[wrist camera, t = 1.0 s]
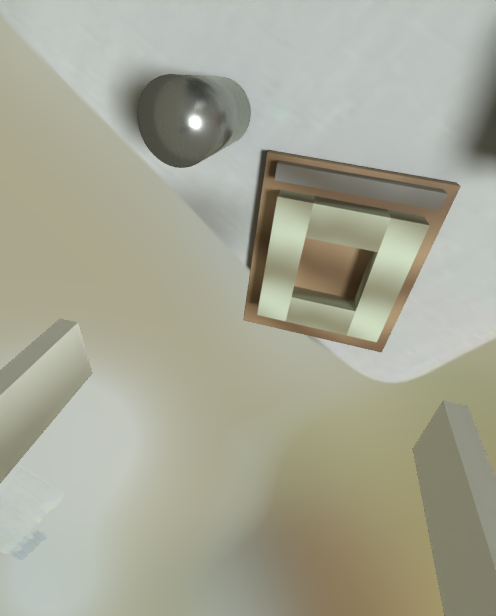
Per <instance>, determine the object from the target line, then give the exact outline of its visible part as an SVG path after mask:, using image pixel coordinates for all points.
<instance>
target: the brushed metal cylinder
mask: <svg viewBox="0 0 496 616" xmlns="http://www.w3.org/2000/svg"><path fill="white" fill-rule="evenodd" d="M250 114H251V111H250V104H249V100H248V97H247V95H246V93H245V92H244V90H243V89H242V87H241V86H240V85H239V84H237V83H236V82H235V81H233V80H231V79H229V78H225V77H209V76H191V75H174V74H168V75H163V76H159V77H157V78H155V79H154V80H152V81H151V82H150V83H149V84H148V85H147V86H146V88H145V89H144V91H143V93H142V94H141V97H140V100H139V104H138V125H139V129H140V133H141V135H142V138H143V140H144V142H145V144H146V145H147V147H148V148H149V150H150V151H151V152H152V153H153V154H154V155H155V156H156V157H157V158H158V159H159V160H161V161H162V162H164V163H166V164H168V165H170V166H173V167H179V168H185V167H190V166H193V165H195V164H197V163H199V162H201V161H202V160H204V159H206V158H208V157H209V156H211V155H213V154H215V153H216V152H218V151H220V150H222V149H223V148H225V147H227V146H229V145H230V144H232V143H234V142H236V141H237V140H239V139H240V138H241V137H242V136H243V135H244V133H245V132H246V130H247V128H248V125H249V122H250Z"/></svg>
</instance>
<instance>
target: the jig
mask: <svg viewBox="0 0 496 616" xmlns="http://www.w3.org/2000/svg"><path fill="white" fill-rule="evenodd" d="M459 188H460V185H459V184H457V183H455V182H449V181H443V180H438V179H432V178H426V177H420V176H415V175H409V174H403V173H397V172H392V171H386V170H380V169H375V168H369V167H363V166H357V165H352V164H346V163H340V162H334V161H329V160H323V159H317V158H312V157H306V156H300V155H294V154H289V153H283V152H277V151H271V150H269V151H268V152H267V158H266V165H265V172H264V179H263V186H262V193H261V200H260V207H259V214H258V221H257V228H256V235H255V242H254V249H253V256H252V263H251V270H250V277H249V285H248V291H247V299H246V306H245V312H244V319H243V320H245V321H249V322H253V323H258V324H262V325H266V326H270V327H275V328H279V329H283V330H288V331H292V332H296V333H301V334H305V335H309V336H313V337H318V338H322V339H326V340H331V341H335V342H339V343H344V344H348V345H352V346H356V347H361V348H365V349H369V350H374V351H378V352H382V350H383V348H384V346H385V344H386V342H387V340H388V338H389V336H390V333H391V331H392V329H393V327H394V325H395V323H396V321H397V319H398V317H399V315H400V312H401V310H402V308H403V306H404V304H405V302H406V300H407V298H408V296H409V294H410V291H411V289H412V287H413V285H414V283H415V281H416V279H417V277H418V275H419V273H420V270H421V268H422V266H423V264H424V262H425V260H426V258H427V256H428V254H429V252H430V249H431V247H432V245H433V243H434V241H435V239H436V237H437V235H438V233H439V230H440V228H441V226H442V224H443V222H444V220H445V218H446V216H447V214H448V212H449V209H450V207H451V205H452V203H453V201H454V199H455V197H456V195H457V193H458V191H459Z"/></svg>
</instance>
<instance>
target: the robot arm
mask: <svg viewBox="0 0 496 616" xmlns="http://www.w3.org/2000/svg"><path fill="white" fill-rule="evenodd" d="M91 374H92V371H91V366H90V363H89V359H88V356H87V352H86V349H85V345H84V342H83V338H82V335H81V331H80V328H79V324H78V322H73V321H69V320H64V319H59V320H58V321H57V322H55V323H54V324H53V325H52V326H51V327H50V328H48V329H47V330H46V331H45V332H44V333H43V334H41V335H40V336H39V337H38V338H37V339H36V340H35V341H33V342H32V343H31V344H30V345H29V346H28V347H26V348H25V349H24V350H23V351H22V352H21V353H20V354H18V355H17V356H16V357H15V358H14V359H13V360H11V361H10V362H9V363H8V364H7V365H6V366H5V367H3V368H2V369H1V370H0V483H1V482H2V481H3V480H4V478H5V477H6V476H7V475H8V474H9V472H10V471H11V470H12V469H13V468H14V466H15V465H16V464H17V463H18V462H19V460H20V459H21V458H22V457H23V455H24V454H25V453H26V452H27V451H28V450H29V448H30V447H31V446H32V445H33V444H34V442H35V441H36V440H37V439H38V438H39V436H40V435H41V434H42V433H43V432H44V430H45V429H46V428H47V427H48V426H49V424H50V423H51V422H52V421H53V420H54V419H55V417H56V416H57V415H58V414H59V413H60V411H61V410H62V409H63V408H64V406H65V405H66V404H67V403H68V402H69V400H70V399H71V398H72V397H73V396H74V395H75V393H76V392H77V391H78V390H79V389H80V387H81V386H82V385H83V384H84V383H85V381H86V380H87V379H88V378H89V377H90V375H91ZM413 453H414V459H415V463H416V469H417V475H418V479H419V485H420V490H421V495H422V500H423V506H424V511H425V517H426V522H427V527H428V533H429V537H430V543H431V548H432V554H433V559H434V564H435V569H436V574H437V580H438V585H439V590H440V596H441V600H442V606H443V612H444V616H496V478H495V475H494V472H493V470H492V467H491V465H490V462H489V459H488V457H487V454H486V451H485V449H484V446H483V444H482V441H481V438H480V436H479V433H478V431H477V428H476V425H475V423H474V420H473V417H472V415H471V412H470V410H469V407H468V406H466V405H461V404H456V403H452V402H447V401H442V403H441V405H440V406H439V408H438V409H437V411H436V412H435V414H434V416H433V417H432V419H431V421H430V422H429V424H428V425H427V427H426V428H425V430H424V431H423V433H422V435H421V436H420V438H419V439H418V441H417V443H416V444H415V446H414V447H413Z"/></svg>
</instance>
